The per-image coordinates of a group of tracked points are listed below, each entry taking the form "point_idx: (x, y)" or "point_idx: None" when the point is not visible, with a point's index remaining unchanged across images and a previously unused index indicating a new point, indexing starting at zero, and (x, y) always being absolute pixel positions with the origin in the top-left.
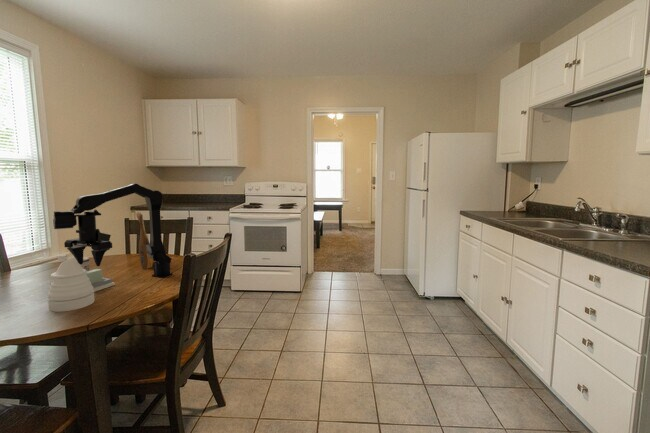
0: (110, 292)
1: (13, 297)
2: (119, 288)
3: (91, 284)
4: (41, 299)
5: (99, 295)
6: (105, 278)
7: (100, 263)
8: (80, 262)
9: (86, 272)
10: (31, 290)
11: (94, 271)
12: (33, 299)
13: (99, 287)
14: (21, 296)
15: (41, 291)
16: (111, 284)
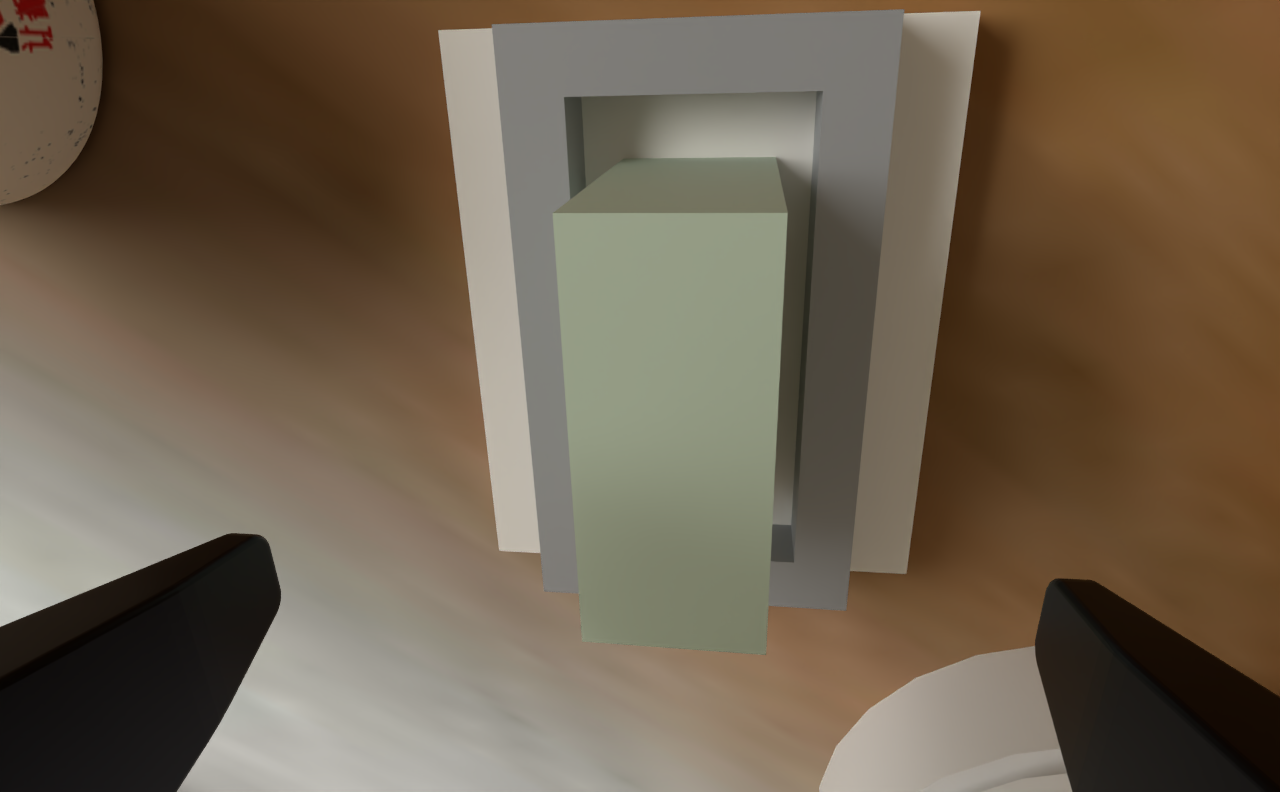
0: (1237, 388)
1: (196, 779)
2: (1256, 159)
3: (826, 457)
4: (529, 774)
5: (1150, 538)
6: (729, 43)
7: (1160, 630)
8: (244, 635)
9: (653, 553)
10: (61, 599)
11: (766, 437)
12: (449, 786)
13: (927, 360)
14: (226, 748)
15: None
16: (965, 97)
